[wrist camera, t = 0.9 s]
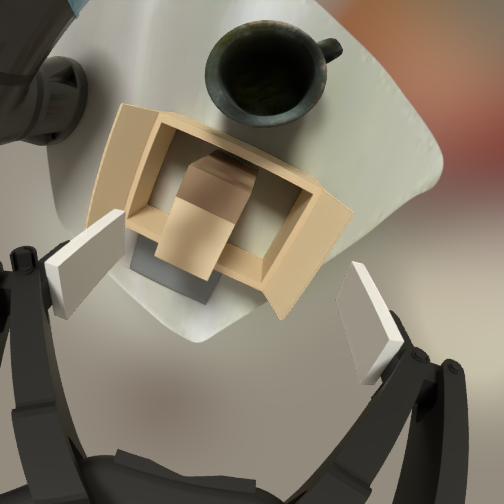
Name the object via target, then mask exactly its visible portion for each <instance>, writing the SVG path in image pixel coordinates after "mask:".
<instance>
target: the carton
mask: <svg viewBox="0 0 504 504" xmlns="http://www.w3.org/2000/svg"><path fill="white" fill-rule="evenodd" d="M177 129H179V130H181V131H184V132H186V133H189V134H191V135H193V136H196V137H198V138H200V139H202V140H205V141H207V142H209V143H211V144H214V145H216V146H218V147H220V148H222V149H225V150H227V151H229V152H231V153H233V154H235V155H237V156H240V157H242V158H244V159H246V160H248V161H250V162H252V163H254V164H256V165H258V166H260V167H262V168H264V169H266V170H268V171H270V172H272V173H274V174H276V175H278V176H280V177H282V178H284V179H286V180H288V181H290V182H292V183H293V184H295V185H297V186H299V187H301V188H303V189H302V191H301V193H300V195H299V197H298V198H297V200H296V202H295V204H294V205H293V207H292V209H291V211H290V212H289V214H288V216H287V218H286V219H285V221H284V223H283V225H282V226H281V228H280V230H279V232H278V233H277V235H276V237H275V239H274V240H273V242H272V244H271V246H270V247H269V249H268V251H267V253H266V254H265V256H264V258H263V259H262V258H259V257H257V256H255V255H253V254H251V253H249V252H247V251H245V250H243V249H241V248H238V247H236V246H234V245H232V244H230V243H228V242H226V244H225V246H224V248H223V250H222V252H221V254H220V256H219V258H218V260H217V262H216V264H215V266H214V268H213V269H214V270H216V271H218V272H221V273H223V274H225V275H227V276H229V277H231V278H234V279H236V280H238V281H240V282H242V283H244V284H247V285H249V286H251V287H253V288H255V289H258V290H260V291H262V292H263V294H264V295H265V297H266V298H267V300H268V302H269V303H270V305H271V306H272V308H273V309H274V311H275V313H276V314H277V316H278V318H279V319H280V320H284V319H285V317H286V316H287V315H288V313H289V312H290V310H291V309H292V308H293V306H294V305H295V303H296V302H297V301H298V299H299V298H300V296H301V295H302V293H303V292H304V290H305V289H306V287H307V286H308V285H309V283H310V282H311V280H312V279H313V277H314V276H315V274H316V273H317V271H318V270H319V268H320V267H321V265H322V264H323V262H324V261H325V259H326V258H327V256H328V255H329V253H330V252H331V250H332V249H333V247H334V245H335V244H336V242H337V241H338V239H339V238H340V236H341V235H342V233H343V231H344V230H345V228H346V227H347V225H348V223H349V222H350V220H351V219H352V217H353V215H354V214H355V213H354V212H352V211H351V210H350V209H349V208H347V207H346V206H345V205H344V204H342V203H341V202H340V201H338V200H337V199H336V198H335V197H333V196H332V195H331V194H329V193H328V192H327V191H325V190H324V188H323V187H322V186H321V184H320V183H319V182H318V180H317V179H315V178H313V177H312V176H310V175H308V174H306V173H304V172H302V171H300V170H299V169H297V168H295V167H293V166H291V165H289V164H287V163H285V162H283V161H281V160H279V159H278V158H276V157H274V156H272V155H270V154H268V153H266V152H264V151H262V150H260V149H257V148H255V147H253V146H251V145H249V144H247V143H245V142H243V141H241V140H239V139H236V138H234V137H232V136H230V135H228V134H226V133H223V132H221V131H219V130H217V129H214V128H212V127H210V126H207V125H205V124H203V123H200V122H198V121H196V120H193V119H191V118H188V117H186V116H184V115H181V114H179V113H174V112H159V111H155V110H151V109H146V108H142V107H137V106H133V105H128V104H123V103H121V105H120V107H119V110H118V112H117V115H116V118H115V120H114V123H113V126H112V129H111V132H110V135H109V138H108V141H107V144H106V147H105V150H104V153H103V156H102V160H101V163H100V166H99V170H98V174H97V177H96V181H95V185H94V189H93V193H92V197H91V201H90V205H89V210H88V214H87V219H86V224H85V226H86V228H88V227H90V226H91V225H93V224H94V223H95V222H97V221H98V220H99V219H101V218H102V217H104V216H105V215H106V214H108V213H109V212H111V211H112V210H113V209H118V210H123V211H126V217H125V227H127V228H129V229H131V230H133V231H135V232H137V233H139V234H141V235H144V236H146V237H148V238H150V239H152V240H154V241H156V242H158V243H159V241H160V238H161V235H162V233H163V230H164V227H165V224H166V222H167V219H168V216H169V214H167V213H165V212H163V211H161V210H159V209H157V208H155V207H152V206H150V205H148V201H149V198H150V195H151V193H152V190H153V187H154V184H155V182H156V179H157V176H158V174H159V171H160V168H161V166H162V163H163V161H164V158H165V156H166V153H167V151H168V148H169V146H170V144H171V141H172V139H173V136H174V134H175V132H176V130H177Z"/></svg>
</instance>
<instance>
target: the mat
mask: <svg viewBox="0 0 504 504" xmlns="http://www.w3.org/2000/svg"><path fill="white" fill-rule="evenodd" d="M158 244H159V243H158V242H156V241H154V240H152V239H150V238H148V237H146V236H144V235H141V234H140V235H139V238H138V241H137V244H136V248H135V251H134V254H133V258H132V261H131V265H130V268H131V269H133V270H135V271H136V272H138V273H140V274H142V275H144V276H146V277H148V278H150V279H152V280H154V281H156V282H158V283H160V284H163V285H165V286H167V287H169V288H171V289H173V290H175V291H177V292H179V293H181V294H183V295H186V296H188V297H190V298H192V299H194V300H196V301H198V302H201V303H203V304H205V305H206V303H207V301H208V299H209V297H210V295H211V293H212V291H213V289H214V287H215V285H216V283H217V281H218V279H219V277H220V275H221V274H222V273H221V272H218V271H216V270H214V269H213V270H212V272H211V275H210V277H209V279H208V281H206V280H204V279H202V278H199V277H197V276H195V275H193V274H191V273H189V272H187V271H185V270H183V269H180V268H178V267H176V266H174V265H172V264H170V263H168V262H166V261H164V260H162V259H160V258H158V257H156V256H154V255H155V252H156V249H157V246H158Z"/></svg>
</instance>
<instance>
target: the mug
mask: <svg viewBox="0 0 504 504" xmlns="http://www.w3.org/2000/svg"><path fill="white" fill-rule="evenodd" d="M342 52H343V49H342V47H341V45H340V43H339V42H338V41H337V40H336V39H333V38H329V39H325V40H322V41H319V42H317V43H316V42H315V41H314V40H313V39H312V38H311V37H310V36H309V35H308V34H307V33H305V32H304V31H302V30H301V29H299V28H297V27H295V26H293V25H291V24H287V23H284V22H280V21H273V20H262V21H254V22H250V23H246V24H243V25H241V26H238V27H236V28H234V29H233V30H231V31H230V32H228V33H227V34H226V35H224V36H223V37H222V38H221V39H220V40H219V41H218V42H217V43H216V45H215V46H214V48H213V49H212V51H211V52H210V55H209V57H208V60H207V63H206V67H205V83H206V87H207V91H208V94H209V96H210V98H211V99H212V101H213V103H214V104H215V105H216V107H217V108H218V109H219V110H220V111H221V112H222V113H223V114H225V115H226V116H228V117H229V118H231V119H232V120H234V121H236V122H239V123H241V124H244V125H248V126H253V127H263V128H269V127H277V126H281V125H285V124H288V123H291V122H293V121H296V120H297V119H299V118H301V117H302V116H304V115H305V114H306V113H308V112H309V111H310V110H311V109H312V108H313V107H314V106H315V105H316V103H317V102H318V100H319V99H320V97H321V96H322V93H323V91H324V89H325V85H326V80H327V67H326V64H327V63H329V62H331V61H333V60H334V59H336V58H337V57H339V56H340V55H341V54H342Z"/></svg>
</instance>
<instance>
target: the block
mask: <svg viewBox="0 0 504 504" xmlns="http://www.w3.org/2000/svg"><path fill="white" fill-rule="evenodd" d="M257 173H258V169H256V168H254V167H252V166H250V165H248V164H246V163H244V162H242V161H240V160H238V159H236V158H234V157H231V156H229V155H227V154H225V153H223V152H221V151H219V150H217V151H215V152H213V153H211V154H209V155H207V156H205V157H203V158H201V159H199V160H197V161H195V162H193V163H191V164H190V165H189V166H188V169H187V171H186V173H185V176H184V178H183V181H182V183H181V185H180V188H179V190H178V193H177V195H176V199H175V201H174V204H173V206H172V209H171V211H170V214H169V216H168V219H167V222H166V224H165V227H164V230H163V233H162V235H161V238H160V241H159V244H158V246H157V249H156V252H155V255H154V256H156V257H158V258H160V259H162V260H164V261H166V262H168V263H170V264H172V265H174V266H176V267H178V268H180V269H183V270H185V271H187V272H189V273H191V274H193V275H195V276H197V277H199V278H202V279H204V280H206V281H208V279H209V277H210V275H211V272H212V270H213V268H214V266H215V264H216V262H217V260H218V258H219V256H220V254H221V252H222V250H223V248H224V246H225V244H226V242H227V240H228V238H229V236H230V234H231V232H232V230H233V228H234V226H235V224H236V223H237V221H238V219H239V217H240V215H241V213H242V211H243V209H244V207H245V205H246V203H247V201H248V199H249V197H250V195H251V193H252V189H253V186H254V183H255V179H256V176H257Z"/></svg>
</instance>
